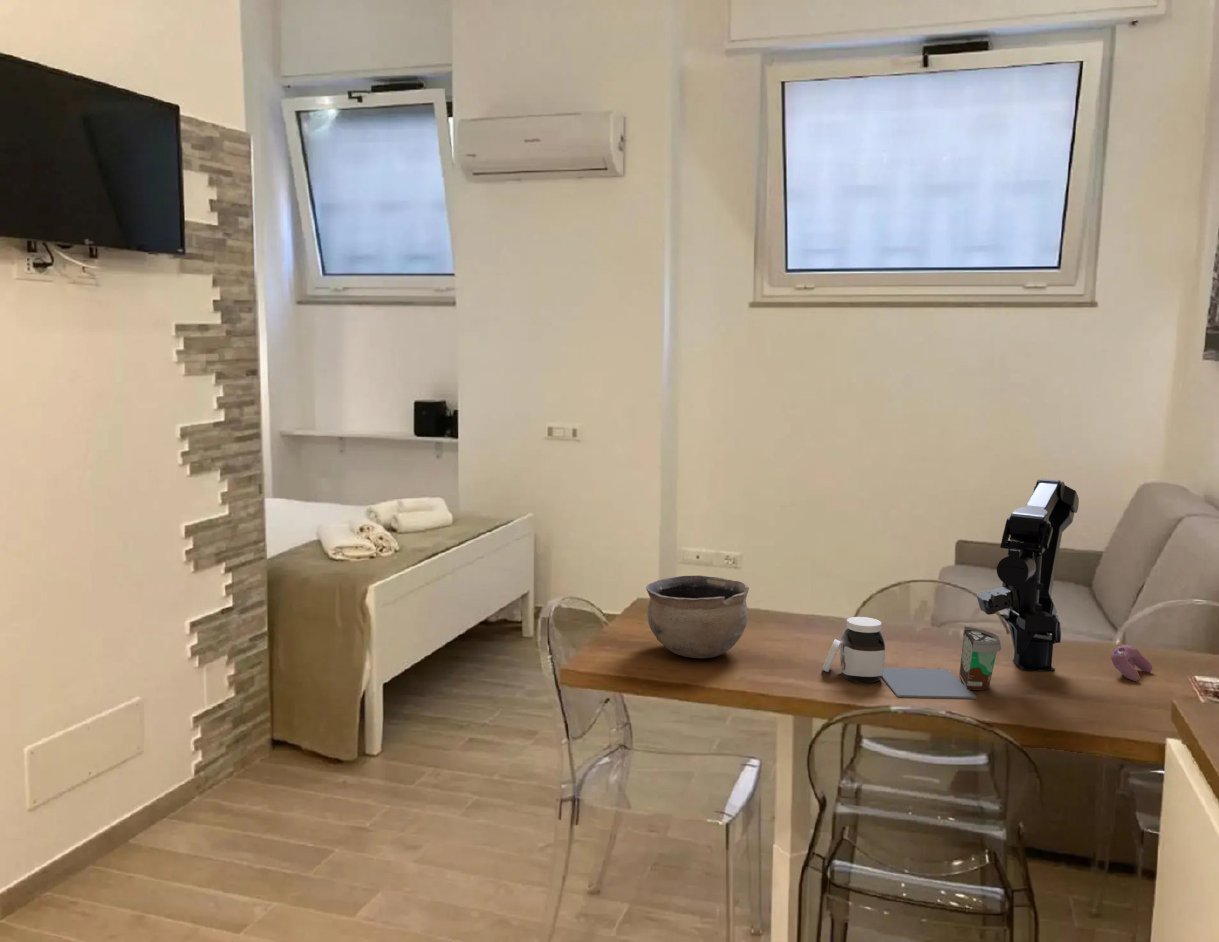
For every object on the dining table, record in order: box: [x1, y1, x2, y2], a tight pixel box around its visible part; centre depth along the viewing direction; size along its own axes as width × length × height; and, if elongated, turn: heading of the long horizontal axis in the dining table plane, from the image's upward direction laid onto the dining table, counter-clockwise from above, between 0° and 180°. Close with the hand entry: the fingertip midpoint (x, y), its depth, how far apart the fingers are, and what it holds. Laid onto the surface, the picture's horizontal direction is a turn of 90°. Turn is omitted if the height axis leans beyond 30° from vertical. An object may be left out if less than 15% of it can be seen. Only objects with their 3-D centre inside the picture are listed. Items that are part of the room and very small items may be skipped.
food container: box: [958, 625, 1002, 691], centre depth 193 cm, size 12×6×10 cm, turn 169°
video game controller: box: [1110, 644, 1153, 682], centre depth 202 cm, size 10×5×7 cm, turn 135°
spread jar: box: [821, 616, 886, 684], centre depth 197 cm, size 12×11×12 cm
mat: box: [881, 667, 977, 700], centre depth 194 cm, size 15×16×1 cm
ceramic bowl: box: [645, 575, 750, 659], centre depth 210 cm, size 22×22×15 cm
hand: (1018, 653), depth 193 cm, fingers closed
